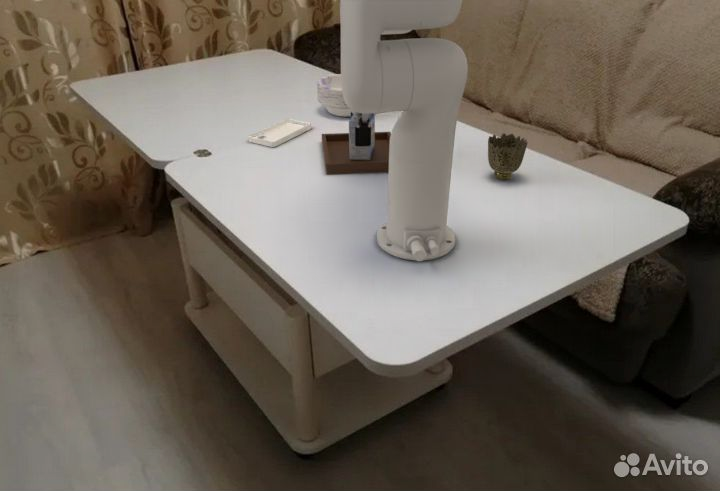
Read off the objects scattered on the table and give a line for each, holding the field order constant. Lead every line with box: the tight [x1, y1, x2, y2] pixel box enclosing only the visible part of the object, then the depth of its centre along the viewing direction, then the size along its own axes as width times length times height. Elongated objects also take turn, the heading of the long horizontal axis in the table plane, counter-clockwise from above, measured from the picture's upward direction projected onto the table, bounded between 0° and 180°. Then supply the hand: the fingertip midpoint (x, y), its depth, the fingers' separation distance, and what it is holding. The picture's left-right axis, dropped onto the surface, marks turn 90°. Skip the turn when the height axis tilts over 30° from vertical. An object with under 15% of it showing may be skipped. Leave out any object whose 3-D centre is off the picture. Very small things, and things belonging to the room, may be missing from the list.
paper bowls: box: [316, 73, 352, 118], centre depth 152 cm, size 15×15×8 cm
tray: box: [321, 131, 392, 175], centre depth 127 cm, size 18×16×2 cm
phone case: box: [248, 118, 312, 148], centre depth 138 cm, size 7×1×15 cm
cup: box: [487, 132, 529, 181], centre depth 116 cm, size 8×7×8 cm
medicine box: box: [348, 113, 376, 161], centre depth 125 cm, size 8×4×9 cm, turn 172°
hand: (360, 137), depth 125 cm, fingers closed on medicine box, 8 cm apart
